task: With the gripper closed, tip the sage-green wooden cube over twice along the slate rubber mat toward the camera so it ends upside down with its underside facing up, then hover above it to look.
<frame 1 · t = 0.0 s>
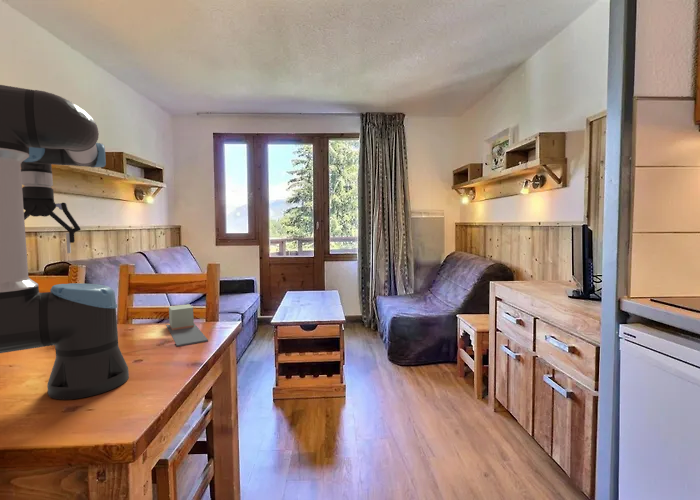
hand: (42, 254, 116), 28 cm above the table, fingers open, 13 cm apart
block: (181, 326, 131), resting on mat
mat: (185, 333, 124), on the table
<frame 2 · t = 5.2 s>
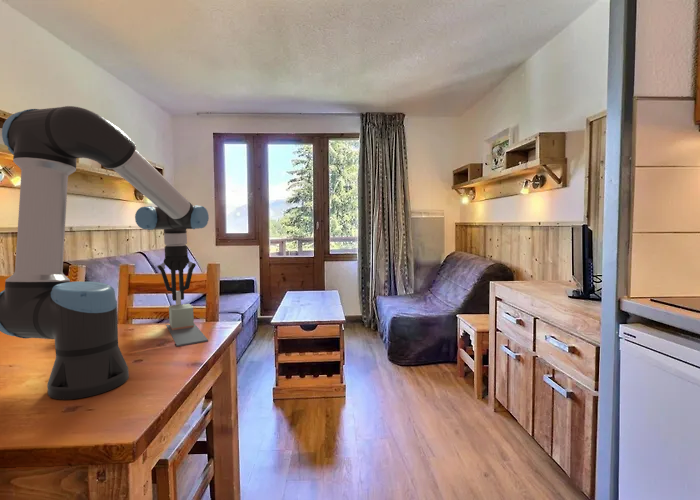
hand: (178, 308, 134), 6 cm above the table, fingers closed
block: (181, 325, 131), point 1 cm above the table, touching gripper, mat
everything else where it was.
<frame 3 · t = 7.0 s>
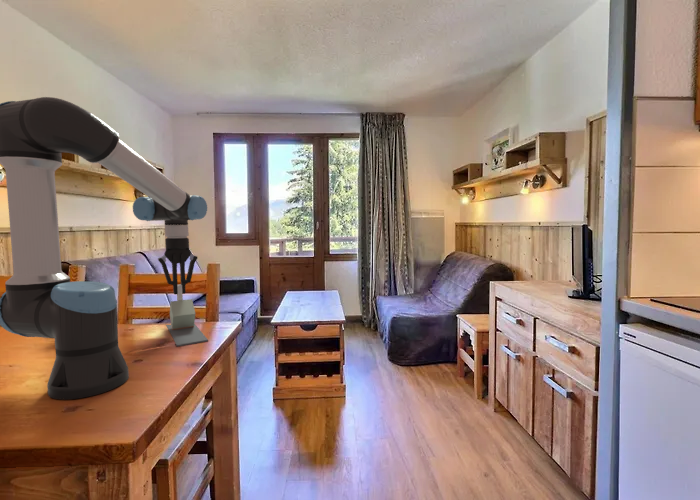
hand: (180, 302, 131), 9 cm above the table, fingers closed
block: (181, 321, 130), point 3 cm above the table, tilted 36°, touching gripper, mat
everything else where it was.
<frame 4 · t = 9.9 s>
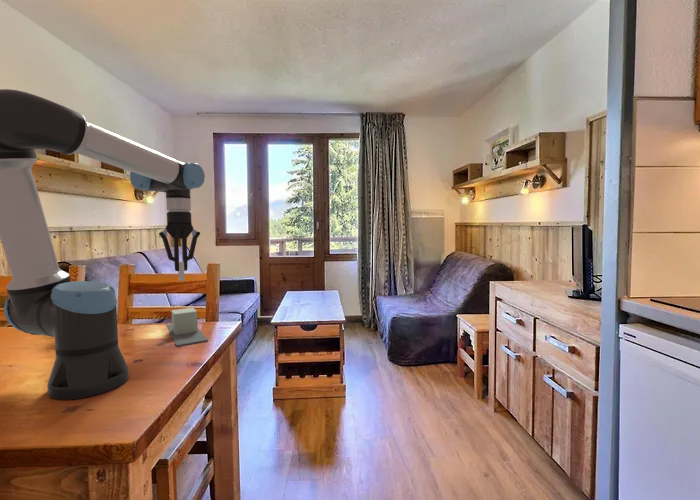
hand: (181, 280, 125), 18 cm above the table, fingers closed
block: (182, 318, 128), point 4 cm above the table, tilted 90°, touching mat
everything else where it was.
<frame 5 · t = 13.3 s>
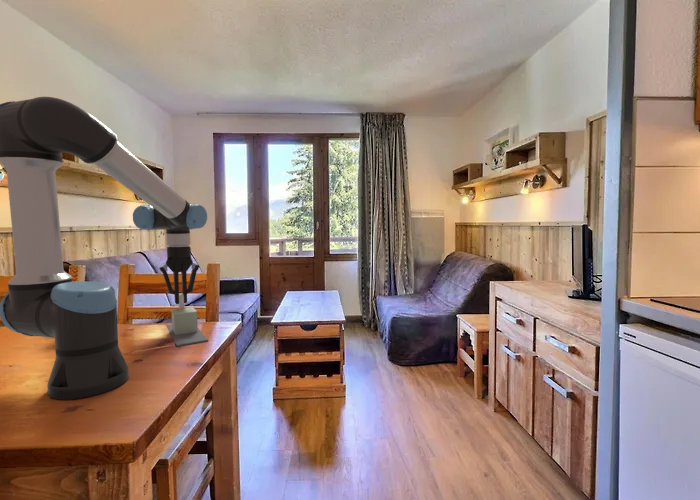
hand: (181, 312, 129), 6 cm above the table, fingers closed
block: (182, 318, 128), point 4 cm above the table, tilted 92°, touching gripper, mat
everything else where it was.
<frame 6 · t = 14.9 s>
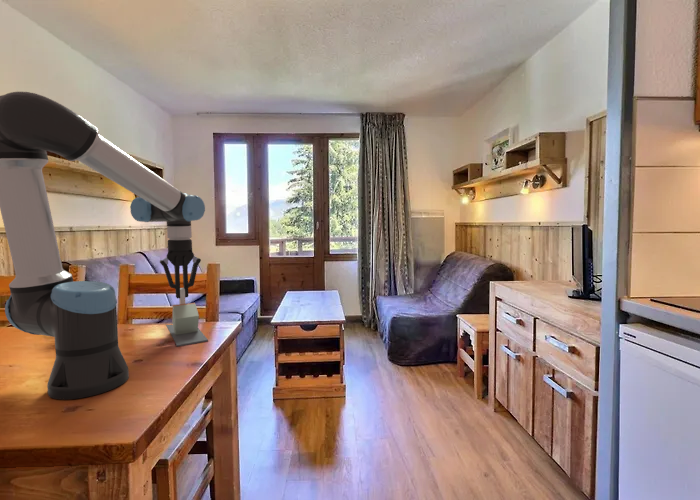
hand: (182, 307, 126), 8 cm above the table, fingers closed
block: (183, 311, 125), point 7 cm above the table, tilted 118°, touching gripper, mat
everything else where it was.
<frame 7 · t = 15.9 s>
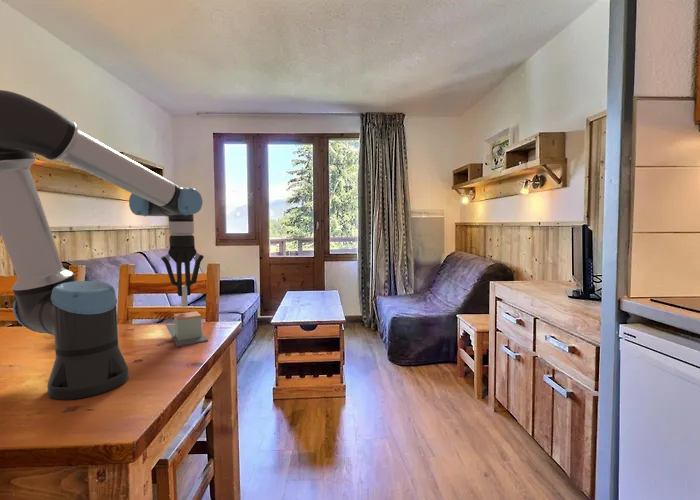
hand: (184, 305, 122), 10 cm above the table, fingers closed
block: (187, 314, 119), point 7 cm above the table, tilted 180°, touching mat
everything else where it was.
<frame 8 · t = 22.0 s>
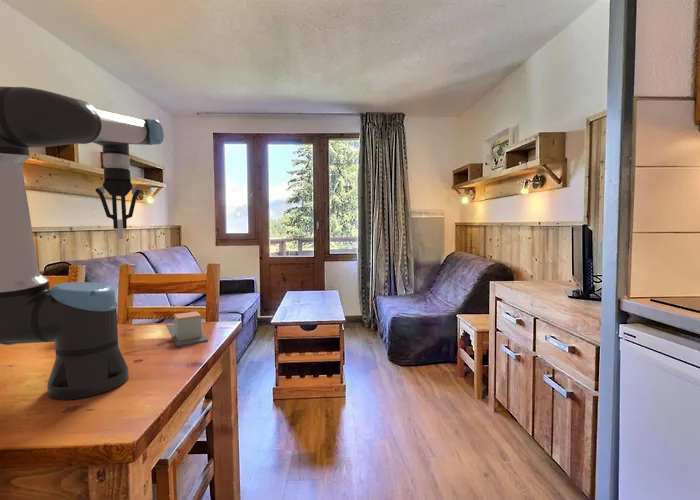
hand: (120, 238, 124), 32 cm above the table, fingers closed
nothing on the table moved.
at the end: block tilted 180°; block inside the target area (1.0 cm from its centre), point 7.5 cm above the table; the gripper is holding nothing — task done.
